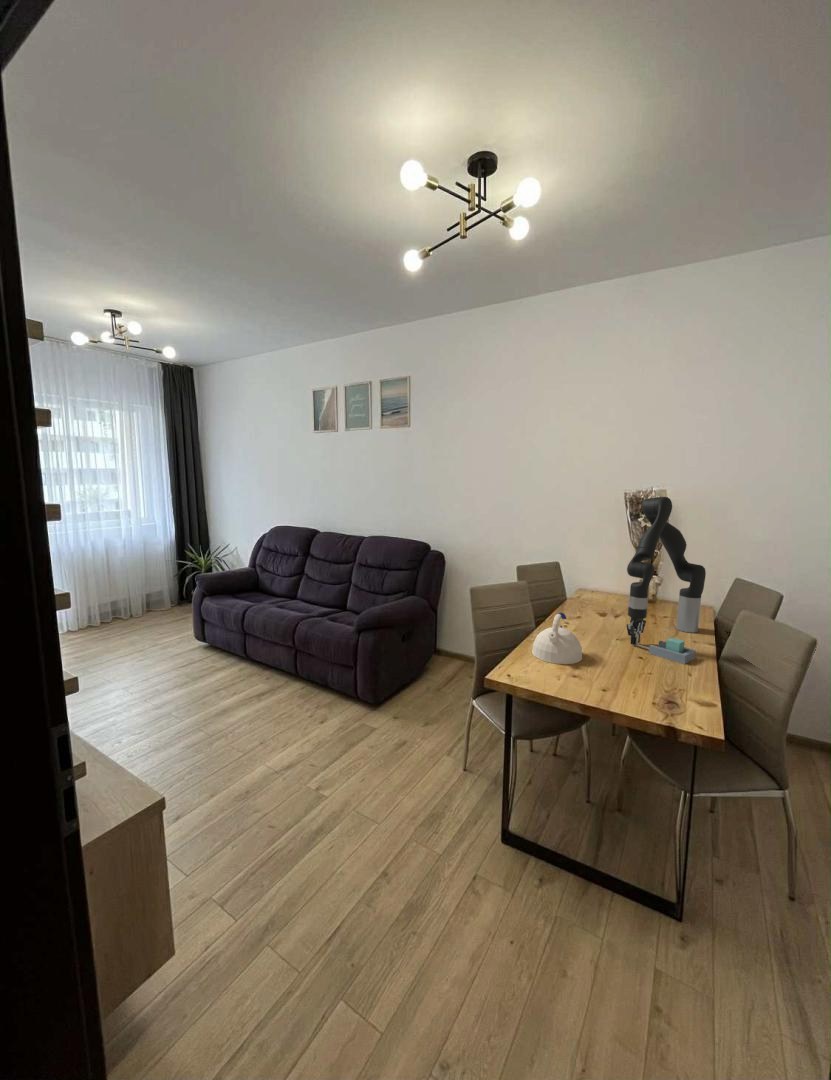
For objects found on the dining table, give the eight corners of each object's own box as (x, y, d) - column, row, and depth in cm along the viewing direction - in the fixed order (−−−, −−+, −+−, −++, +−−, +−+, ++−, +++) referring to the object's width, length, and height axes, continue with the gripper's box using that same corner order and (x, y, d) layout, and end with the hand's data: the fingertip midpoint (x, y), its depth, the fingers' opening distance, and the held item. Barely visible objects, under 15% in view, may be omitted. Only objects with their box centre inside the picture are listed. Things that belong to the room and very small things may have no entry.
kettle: (525, 658, 185) (527, 615, 182) (539, 642, 202) (541, 604, 200) (576, 669, 174) (578, 624, 172) (586, 652, 192) (589, 611, 189)
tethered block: (634, 642, 203) (635, 628, 202) (683, 657, 187) (684, 640, 186) (629, 645, 200) (630, 630, 199) (678, 659, 184) (679, 643, 183)
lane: (659, 648, 197) (660, 640, 196) (694, 658, 186) (695, 650, 185) (648, 653, 190) (649, 645, 190) (684, 664, 180) (685, 655, 179)
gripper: (636, 601, 205) (634, 638, 207) (621, 606, 197) (618, 644, 199) (653, 605, 199) (650, 642, 201) (638, 610, 191) (635, 649, 193)
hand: (634, 643), depth 200 cm, fingers closed on tethered block, 2 cm apart
